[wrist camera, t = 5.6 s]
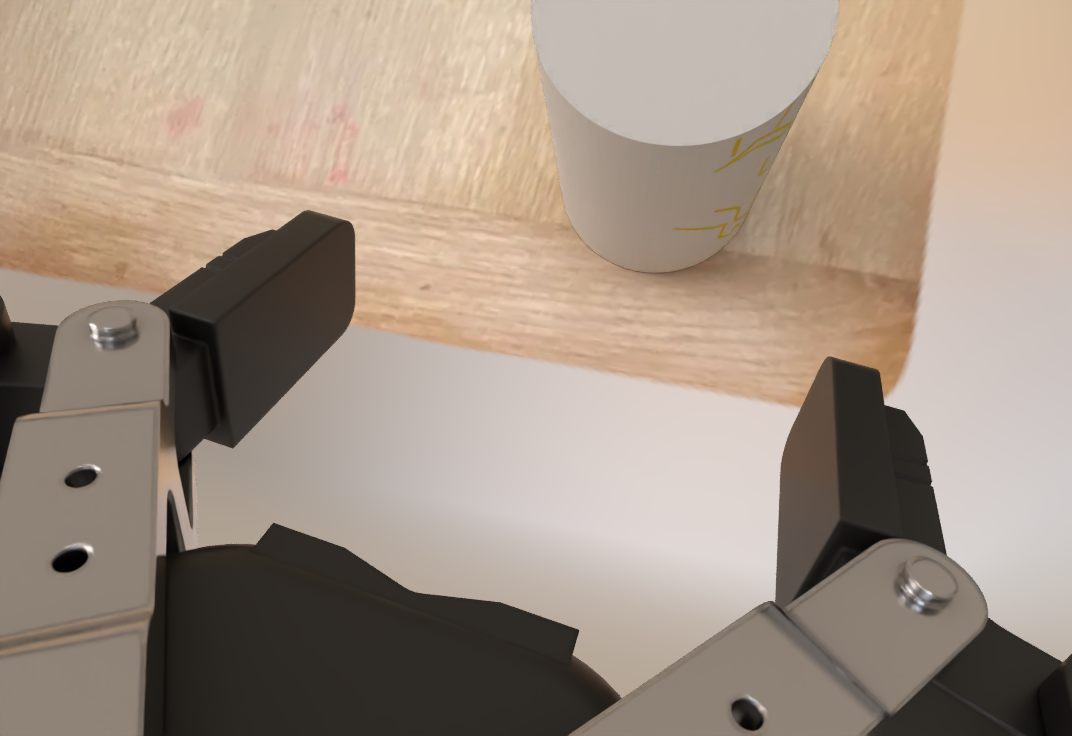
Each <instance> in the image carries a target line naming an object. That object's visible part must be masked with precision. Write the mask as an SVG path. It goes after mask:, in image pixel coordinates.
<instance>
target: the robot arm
mask: <svg viewBox="0 0 1072 736" xmlns="http://www.w3.org/2000/svg"><path fill="white" fill-rule="evenodd" d="M354 307H355V232H354V228H353V226H352V224H351V223H350V222H349V221H346V220H342V219H339V218H335V217H332V216H328V215H324V214H321V213H317V212H314V211H310V210H307V211H304V212H302V213H301V214H299V215H298V216H296V217H295V218H294V219H292V220H291V221H289V222H288V223H287V224H285V225H284V226H282V227H281V228H280V229H278V230H277V231H276V230H273V229H272V230H269V231H266V232H263V233H260V234H257V235H254V236H251V237H247V238H244V239H243V240H241V241H240V242H238V243H237V244H235V245H234V246H232V247H231V248H229V249H228V250H226V251H225V252H224V253H223V256H218V257H216V258H215V259H213V260H212V261H210V262H209V263H208V264H206V268H203V267H202V268H200V269H199V270H197V271H196V272H194V273H193V274H192V275H190V276H189V277H187V278H186V279H184V280H183V281H181V282H180V283H178V284H177V285H176V286H174V287H173V288H171V289H170V290H168V291H167V292H165V293H164V294H162V295H161V296H160V297H158V298H157V299H155V300H154V301H152V302H151V303H150V304H148V303H144V302H139V301H129V300H119V301H108V302H102V303H98V304H94V305H91V306H88V307H85V308H82V309H80V310H78V311H76V312H74V313H72V314H71V315H70V316H68V317H66V318H65V319H64V320H63V321H62V322H61V324H60V325H59V326H56V325H44V324H31V323H19V322H11V321H10V318H9V316H8V312H7V310H6V307H5V304H4V301H3V299H2V298H1V296H0V736H1072V654H1071V655H1070V656H1069V657H1068V658H1067V659H1066V660H1065V661H1064V662H1061V661H1060V660H1058V659H1056V658H1054V657H1052V656H1050V655H1049V654H1047V653H1045V652H1043V651H1042V650H1040V649H1038V648H1037V647H1035V646H1033V645H1031V644H1030V643H1028V642H1026V641H1024V640H1022V639H1021V638H1019V637H1017V636H1015V635H1014V634H1012V633H1010V632H1009V631H1007V630H1005V629H1004V628H1002V627H1001V626H999V625H998V624H996V623H995V622H994V621H992V620H991V619H990V618H988V608H987V603H986V600H985V598H984V595H983V593H982V592H981V590H980V588H979V587H978V585H977V584H976V582H975V581H974V580H973V578H972V577H971V576H970V575H969V574H968V573H967V572H966V571H965V570H964V569H963V568H962V567H961V566H960V565H958V564H957V563H956V562H955V561H953V560H952V559H951V558H949V557H948V556H947V554H946V549H945V544H944V539H943V534H942V529H941V524H940V519H939V514H938V509H937V504H936V500H935V494H934V489H933V487H932V486H931V482H932V480H931V474H930V469H929V466H927V462H928V460H927V454H926V449H925V445H924V440H923V436H922V435H921V433H920V432H919V430H918V429H917V428H916V426H915V425H914V423H913V422H912V421H911V419H910V418H909V417H908V415H907V414H906V412H905V411H903V410H900V409H896V408H893V407H889V406H886V405H884V399H883V392H882V385H881V378H880V373H879V371H878V370H877V369H873V368H870V367H866V366H862V365H859V364H855V363H852V362H848V361H844V360H841V359H837V358H834V357H827V358H826V359H825V361H824V362H823V364H822V365H821V367H820V369H819V371H818V373H817V376H816V378H815V380H814V382H813V384H812V386H811V388H810V390H809V393H808V395H807V397H806V399H805V401H804V403H803V405H802V407H801V409H800V412H799V414H798V416H797V418H796V420H795V422H794V424H793V426H792V429H791V431H790V433H789V436H788V439H787V442H786V445H785V449H784V452H783V456H782V462H781V474H780V499H779V524H778V548H777V549H778V550H777V573H776V598H775V599H776V600H775V602H773V601H768V602H765V603H763V604H761V605H759V606H757V607H756V608H754V609H752V610H751V611H750V612H748V613H747V614H745V615H744V616H742V617H741V618H739V619H738V620H736V621H735V622H733V623H732V624H730V625H729V626H728V627H726V628H725V629H723V630H722V631H721V632H719V633H717V634H716V635H714V636H713V637H711V638H710V639H708V640H707V641H706V642H704V643H703V644H701V645H700V646H698V647H697V648H695V649H694V650H692V651H691V652H689V653H688V654H687V655H685V656H684V657H683V658H681V659H679V660H678V661H676V662H675V663H673V664H672V665H670V666H669V667H667V668H666V669H665V670H663V671H662V672H660V673H659V674H657V675H656V676H654V677H653V678H651V679H650V680H648V681H647V682H645V683H644V684H643V685H641V686H640V687H638V688H637V689H636V690H634V691H632V692H631V693H629V694H628V695H626V696H625V697H623V698H621V697H620V695H619V694H618V693H617V692H616V691H615V690H614V689H613V688H612V687H611V686H610V685H609V684H608V683H607V682H606V681H605V680H604V679H603V678H602V677H601V676H600V675H599V674H597V673H596V672H595V671H594V670H593V669H591V668H590V667H589V666H588V665H586V664H585V663H583V662H582V661H581V660H579V659H578V658H576V657H575V656H573V655H572V654H573V650H574V647H575V643H576V640H577V636H578V633H579V630H578V629H575V628H572V627H569V626H566V625H563V624H561V623H558V622H555V621H552V620H549V619H546V618H543V617H541V616H538V615H535V614H532V613H529V612H526V611H523V610H520V609H518V608H515V607H512V606H509V605H506V604H503V603H501V602H491V601H482V600H475V599H465V598H456V597H448V596H439V595H430V594H421V593H415V592H413V591H410V590H408V589H406V588H404V587H403V586H401V585H400V584H398V583H397V582H395V581H394V580H392V579H391V578H389V577H388V576H386V575H385V574H383V573H382V572H380V571H379V570H377V569H376V568H374V567H373V566H371V565H369V564H368V563H367V562H365V561H364V560H362V559H361V558H359V557H358V556H356V555H355V554H353V553H352V552H350V551H349V550H347V549H346V548H344V547H340V546H338V545H335V544H332V543H329V542H326V541H323V540H320V539H318V538H315V537H312V536H309V535H306V534H303V533H301V532H298V531H295V530H292V529H289V528H286V527H284V526H281V525H278V524H275V523H273V524H272V525H271V526H270V528H269V529H268V530H267V531H266V533H265V534H264V535H263V536H262V538H261V539H260V540H259V541H258V543H257V544H256V545H253V544H225V545H215V546H207V547H201V548H198V531H197V489H196V460H195V455H194V450H193V449H194V448H195V447H196V446H197V445H198V444H199V443H200V442H201V441H202V440H203V439H207V440H210V441H213V442H216V443H218V444H222V445H225V446H227V447H231V448H234V447H235V446H236V445H237V444H238V443H239V442H240V441H241V439H243V438H244V436H245V435H246V434H247V433H248V432H249V431H250V430H251V429H252V428H253V427H254V426H255V425H256V424H257V423H258V422H259V421H260V420H261V419H262V417H264V416H265V415H266V413H268V411H269V410H270V409H271V408H272V407H273V406H274V405H275V404H276V403H277V402H278V401H279V400H280V399H281V398H282V397H283V396H284V395H285V394H286V393H287V392H288V391H289V390H290V388H291V387H293V385H294V384H295V383H296V382H297V381H298V380H299V379H300V378H301V377H302V376H303V375H304V374H305V373H306V372H307V371H308V370H309V369H310V368H311V367H312V366H313V365H314V364H315V362H316V361H317V360H318V359H319V358H320V357H321V356H322V355H323V354H324V353H325V352H326V351H327V350H328V349H329V348H330V347H331V346H332V345H333V344H334V343H335V342H336V341H337V340H338V339H339V338H340V336H342V334H343V333H344V332H345V330H346V329H347V327H348V325H349V323H350V321H351V318H352V316H353V312H354Z"/></svg>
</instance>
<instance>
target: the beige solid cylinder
mask: <svg viewBox="0 0 1072 736" xmlns="http://www.w3.org/2000/svg"><path fill="white" fill-rule="evenodd" d="M838 6H839V0H532V3H531V22H532V31H533V38H534V43H535V48H536V54H537V59H538V65H539V70H540V76H541V81H542V87H543V92H544V98H545V103H546V109H547V114H548V120H549V125H550V131H551V136H552V142H553V147H554V153H555V158H556V164H557V169H558V175H559V180H560V186H561V191H562V197H563V202H564V206H565V209H566V212H567V215H568V218H569V220H570V222H571V224H572V226H573V227H574V229H575V231H576V232H577V234H578V235H579V236H580V238H581V239H582V240H583V241H584V242H585V243H586V244H587V245H588V246H589V247H590V248H591V249H592V250H593V251H594V252H596V253H597V254H598V255H600V256H601V257H603V258H604V259H606V260H608V261H610V262H612V263H614V264H616V265H618V266H621V267H624V268H627V269H630V270H635V271H640V272H649V273H663V272H672V271H677V270H681V269H685V268H688V267H691V266H694V265H696V264H698V263H700V262H702V261H704V260H706V259H708V258H710V257H711V256H713V255H714V254H715V253H717V252H718V251H719V250H721V249H722V248H723V247H724V246H725V245H726V244H727V243H728V242H729V241H730V240H731V239H732V238H733V237H734V235H735V234H736V233H737V231H738V230H739V228H740V227H741V225H742V223H743V221H744V219H745V218H746V216H747V214H748V212H749V210H750V208H751V206H752V204H753V202H754V200H755V198H756V196H757V194H758V192H759V190H760V188H761V186H762V184H763V182H764V180H765V178H766V176H767V174H768V172H769V170H770V168H771V166H772V164H773V162H774V160H775V158H776V156H777V154H778V152H779V150H780V148H781V146H782V144H783V142H784V140H785V138H786V136H787V134H788V132H789V130H790V128H791V126H792V124H793V122H794V120H795V118H796V116H797V114H798V112H799V110H800V108H801V106H802V104H803V102H804V100H805V98H806V96H807V94H808V92H809V90H810V88H811V86H812V84H813V82H814V80H815V78H816V76H817V74H818V72H819V70H820V68H821V66H822V64H823V62H824V60H825V58H826V56H827V53H828V51H829V49H830V46H831V43H832V40H833V37H834V33H835V29H836V25H837V18H838Z"/></svg>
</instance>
